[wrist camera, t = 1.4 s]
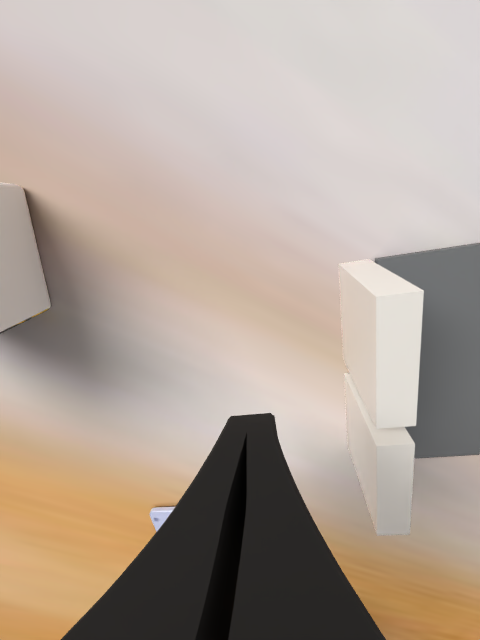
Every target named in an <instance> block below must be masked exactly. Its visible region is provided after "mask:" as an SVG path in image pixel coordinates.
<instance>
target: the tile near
mask: <svg viewBox="0 0 480 640" xmlns="http://www.w3.org/2000/svg"><path fill="white" fill-rule="evenodd" d="M338 268H339V288H340V307H341V327H342V347H343V360H344V362H345V364H346V367H347V369H348V371H349V373H350V375H351V377H352V379H353V381H354V383H355V385H356V387H357V389H358V391H359V393H360V396H361V398H362V400H363V402H364V404H365V406H366V408H367V410H368V412H369V414H370V416H371V418H372V420H373V423H374V425H375V427H376V429H380V428H394V427H408V426H416V419H417V401H418V384H419V366H420V349H421V332H422V314H423V297H424V290H422V289H420V288H418V287H417V286H415V285H413V284H411V283H410V282H408V281H406V280H404V279H403V278H401V277H399V276H397V275H396V274H394V273H392V272H390V271H389V270H387V269H385V268H383V267H382V266H380V265H378V264H376V263H375V262H373V261H371V260H370V259H367V260H360V261H353V262H346V263H340V264H338Z"/></svg>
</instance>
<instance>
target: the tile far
mask: <svg viewBox="0 0 480 640" xmlns="http://www.w3.org/2000/svg"><path fill="white" fill-rule="evenodd" d="M344 387H345V407H346V427H347V446H348V449H349V452H350V455H351V458H352V461H353V464H354V467H355V470H356V473H357V477H358V480H359V483H360V486H361V489H362V492H363V495H364V498H365V501H366V504H367V507H368V510H369V513H370V516H371V519H372V522H373V525H374V528H375V531H376V534H377V535H410V525H411V508H412V490H413V472H414V454H415V443H414V441H413V440H412V438H411V436H410V435H409V433H408V432H407V430H406V428H405V427H394V428H380V429H376V427H375V425H374V423H373V420H372V418H371V416H370V414H369V412H368V410H367V408H366V406H365V404H364V402H363V400H362V398H361V396H360V393H359V391H358V389H357V387H356V385H355V383H354V381H353V379H352V377H351V375H350V373H344Z"/></svg>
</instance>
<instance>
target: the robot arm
mask: <svg viewBox="0 0 480 640" xmlns="http://www.w3.org/2000/svg"><path fill="white" fill-rule="evenodd" d="M150 517H151V519H152V522H153V524H154V527H155V529H156V533H155V535H154V536H153V537H152V539H151V540H150V541H149V542H148V544H147V545H146V546H145V547H144V549H143V550H142V551H141V552H140V553H139V554H138V556H137V557H136V558H135V559H134V560H133V562H132V563H131V564H130V565H129V566H128V568H127V569H126V570H125V571H124V572H123V573H122V575H121V576H120V577H119V578H118V579H117V580H116V581H115V583H114V584H113V585H112V586H111V587H110V588H109V589H108V590H107V592H106V593H105V594H104V595H103V596H102V597H101V598H100V599H99V600H98V601H97V602H96V603H95V604H94V605H93V606H92V607H91V609H90V610H89V611H88V612H87V613H86V614H85V615H84V616H83V617H82V618H81V619H80V620H79V621H78V622H77V623H76V624H75V625H74V626H73V627H72V628H71V629H70V630H69V632H68V633H67V634H66V635H65V636H64V637H63V638H62V639H61V640H386V639H385V637H384V636H383V634H382V633H381V632H380V630H379V628H378V627H377V625H376V624H375V622H374V621H373V619H372V617H371V616H370V614H369V613H368V611H367V609H366V608H365V606H364V605H363V603H362V602H361V600H360V598H359V597H358V595H357V594H356V592H355V591H354V589H353V587H352V586H351V584H350V583H349V581H348V580H347V578H346V576H345V575H344V573H343V572H342V570H341V568H340V566H339V565H338V563H337V561H336V560H335V558H334V556H333V555H332V553H331V551H330V549H329V548H328V546H327V544H326V542H325V541H324V539H323V537H322V535H321V533H320V532H319V530H318V528H317V526H316V524H315V522H314V520H313V519H312V517H311V515H310V513H309V511H308V509H307V507H306V505H305V503H304V501H303V499H302V497H301V495H300V492H299V490H298V488H297V486H296V484H295V482H294V479H293V477H292V475H291V472H290V470H289V467H288V465H287V462H286V460H285V458H284V455H283V452H282V449H281V446H280V443H279V440H278V436H277V430H276V424H275V417H274V415H272V414H271V413H266V414H253V415H241V416H231V417H230V418H229V419H228V421H227V423H226V425H225V427H224V429H223V431H222V433H221V434H220V436H219V438H218V440H217V442H216V444H215V445H214V447H213V449H212V451H211V452H210V454H209V456H208V457H207V459H206V461H205V462H204V464H203V466H202V467H201V469H200V471H199V472H198V474H197V475H196V477H195V479H194V480H193V482H192V483H191V485H190V486H189V488H188V489H187V491H186V492H185V493H184V495H183V496H182V498H181V499H180V501H179V502H178V504H177V505H176V507H155V508H152V509H151V512H150Z"/></svg>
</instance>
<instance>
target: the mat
mask: <svg viewBox="0 0 480 640" xmlns="http://www.w3.org/2000/svg"><path fill="white" fill-rule="evenodd" d="M375 263H376V264H378V265H380V266H382V267H383V268H385V269H387V270H389V271H390V272H392V273H394V274H396V275H397V276H399V277H401V278H403V279H404V280H406V281H408V282H410V283H411V284H413V285H415V286H417V287H418V288H420V289H422V290H424V297H423V314H422V332H421V349H420V366H419V384H418V401H417V419H416V426H408V427H405V428H406V430H407V432H408V433H409V435H410V436H411V438H412V440H413V441H414V443H415V454H414V458H429V457H447V456H465V455H479V454H480V243H476V244H469V245H462V246H456V247H449V248H442V249H435V250H429V251H422V252H415V253H408V254H402V255H395V256H388V257H382V258H375Z"/></svg>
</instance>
